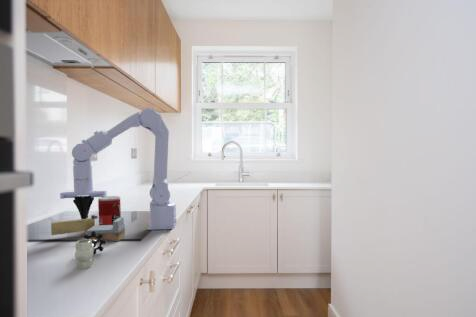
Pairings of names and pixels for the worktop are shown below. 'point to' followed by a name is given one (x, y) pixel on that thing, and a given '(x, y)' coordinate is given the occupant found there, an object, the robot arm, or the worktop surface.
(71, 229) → the bar
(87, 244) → the valve
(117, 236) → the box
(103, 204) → the canned food
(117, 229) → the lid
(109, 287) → the worktop surface
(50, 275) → the worktop surface
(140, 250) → the worktop surface
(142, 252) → the worktop surface
